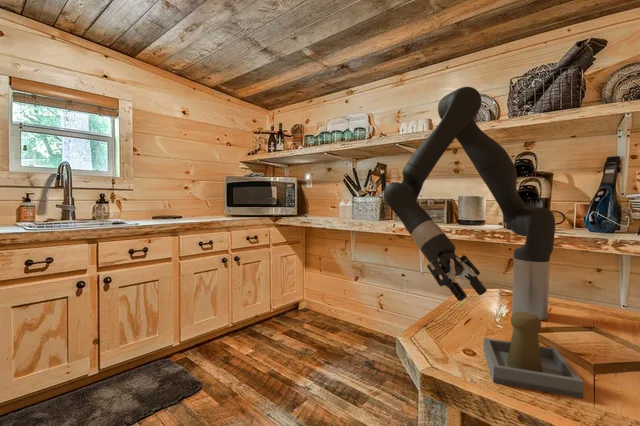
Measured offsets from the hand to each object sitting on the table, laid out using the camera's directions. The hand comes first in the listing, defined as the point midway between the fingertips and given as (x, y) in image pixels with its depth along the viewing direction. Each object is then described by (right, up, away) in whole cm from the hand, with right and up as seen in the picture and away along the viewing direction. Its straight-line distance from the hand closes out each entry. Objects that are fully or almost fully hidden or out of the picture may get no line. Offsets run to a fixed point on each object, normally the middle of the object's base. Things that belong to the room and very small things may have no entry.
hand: (473, 296), depth 74 cm
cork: (+6, -12, -9) cm, 16 cm away
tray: (+6, -13, -9) cm, 17 cm away
